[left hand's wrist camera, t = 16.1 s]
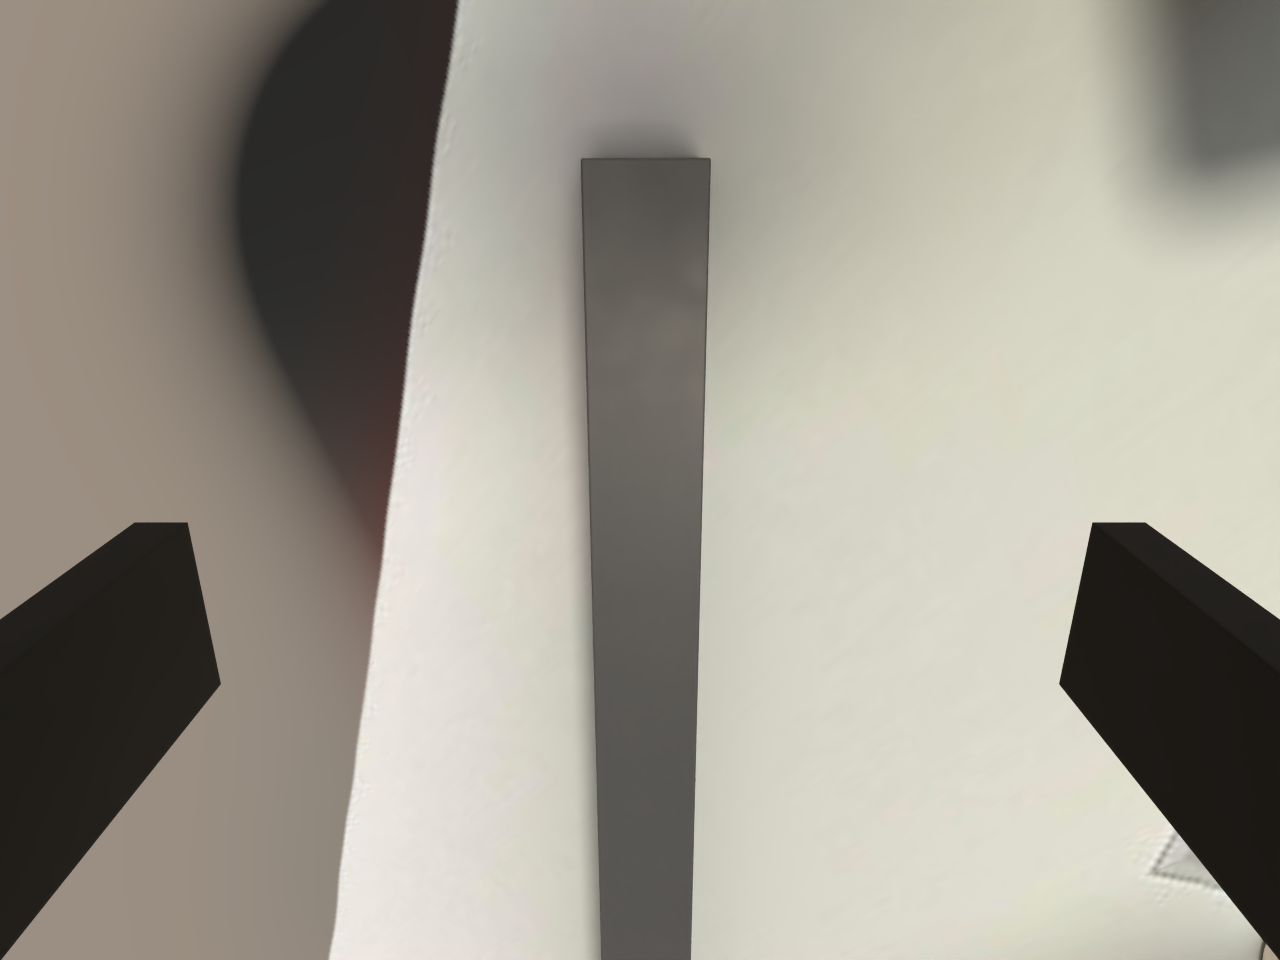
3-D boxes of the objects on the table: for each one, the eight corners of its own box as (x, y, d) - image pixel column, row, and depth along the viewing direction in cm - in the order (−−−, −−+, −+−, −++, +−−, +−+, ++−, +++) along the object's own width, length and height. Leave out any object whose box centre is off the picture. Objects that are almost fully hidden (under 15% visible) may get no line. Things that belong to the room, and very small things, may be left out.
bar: (590, 158, 43) (580, 158, 36) (699, 158, 43) (711, 157, 36) (611, 1132, 70) (608, 1236, 63) (679, 1131, 70) (683, 1236, 63)
